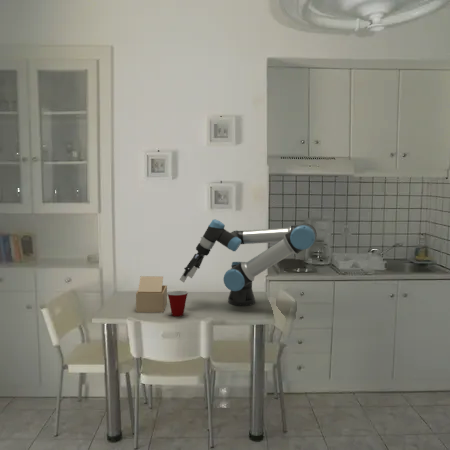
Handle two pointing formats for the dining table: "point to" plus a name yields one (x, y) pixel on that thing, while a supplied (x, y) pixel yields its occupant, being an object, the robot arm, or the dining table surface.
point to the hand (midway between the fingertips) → (185, 278)
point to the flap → (150, 284)
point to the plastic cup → (177, 302)
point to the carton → (151, 301)
